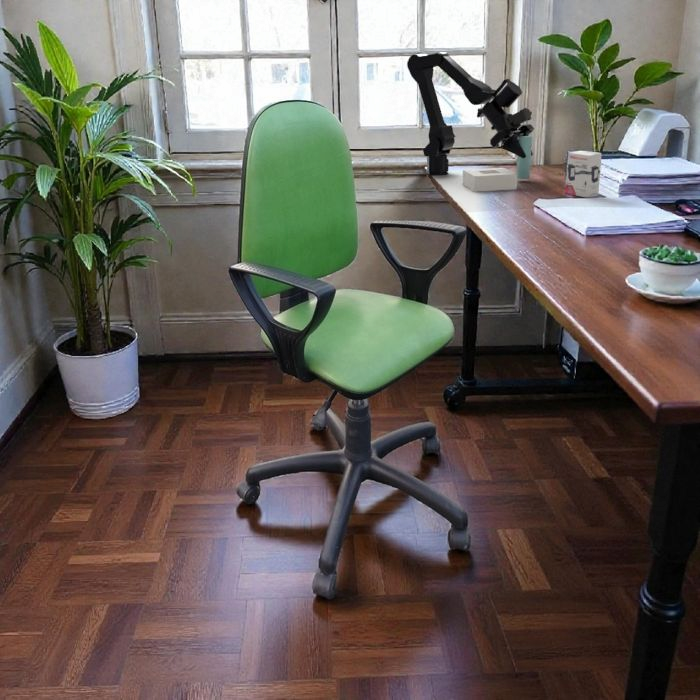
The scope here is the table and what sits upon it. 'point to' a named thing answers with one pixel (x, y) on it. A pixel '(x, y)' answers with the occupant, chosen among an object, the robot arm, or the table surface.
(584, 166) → the ink box
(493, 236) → the table surface
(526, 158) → the pin
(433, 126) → the robot arm
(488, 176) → the socket block
